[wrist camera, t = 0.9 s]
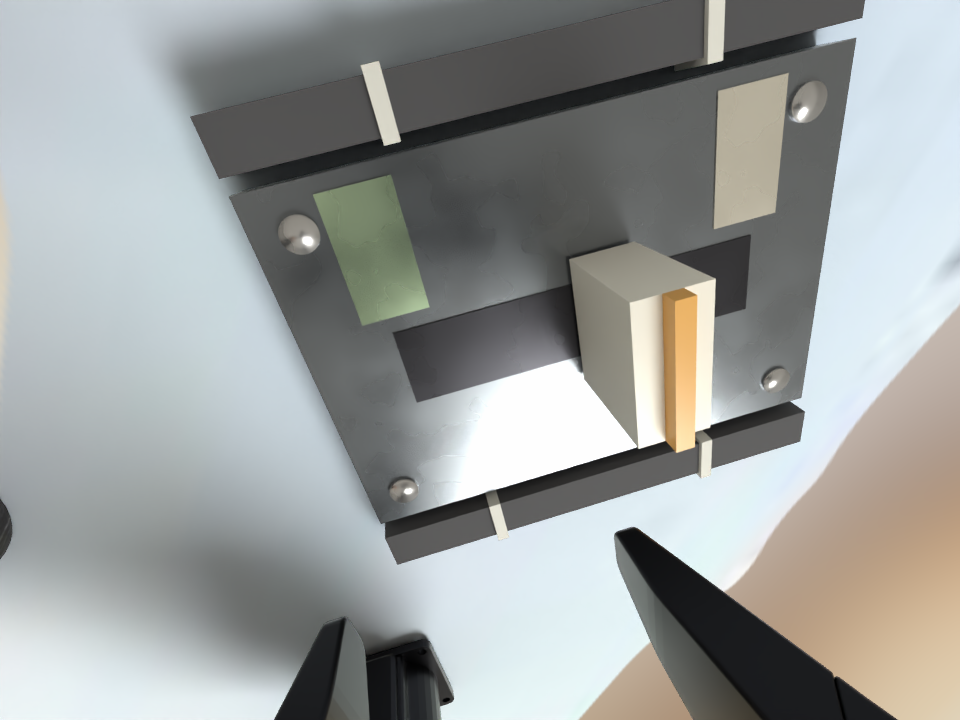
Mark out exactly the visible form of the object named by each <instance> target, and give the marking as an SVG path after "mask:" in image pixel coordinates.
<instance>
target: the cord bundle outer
mask: <svg viewBox="0 0 960 720" xmlns="http://www.w3.org/2000/svg"><path fill="white" fill-rule="evenodd" d="M864 3H865V0H670V1H666V2H662V3H658V4H654V5H650V6H645V7H641V8H637V9H633V10H629V11H625V12H621V13H617V14H612V15H608V16H604V17H600V18H596V19H592V20H588V21H583V22H579V23H575V24H571V25H567V26H563V27H559V28H554V29H550V30H546V31H542V32H538V33H534V34H530V35H526V36H521V37H517V38H513V39H509V40H505V41H501V42H497V43H492V44H488V45H484V46H480V47H476V48H472V49H468V50H464V51H459V52H455V53H451V54H447V55H443V56H439V57H435V58H430V59H426V60H422V61H418V62H414V63H410V64H406V65H402V66H397V67H393V68H389V69H385V70H381V67H380V63H379V61H376V62H372V63H368V64H364V65H361V68H362V71H363V75H360V76H356V77H352V78H348V79H344V80H340V81H335V82H331V83H327V84H323V85H319V86H315V87H311V88H306V89H302V90H298V91H294V92H290V93H286V94H282V95H278V96H273V97H269V98H265V99H261V100H257V101H253V102H249V103H244V104H240V105H236V106H232V107H228V108H224V109H220V110H216V111H211V112H207V113H203V114H199V115H195V116H191V119H192V122H193V124H194V126H195V128H196V130H197V132H198V134H199V137H200V139H201V141H202V143H203V145H204V147H205V149H206V152H207V154H208V156H209V158H210V160H211V162H212V164H213V167H214V169H215V171H216V173H217V175H218V177H219V179H222V178H225V177H229V176H233V175H237V174H241V173H245V172H249V171H253V170H257V169H261V168H265V167H269V166H273V165H277V164H281V163H285V162H289V161H293V160H297V159H301V158H305V157H309V156H313V155H317V154H321V153H325V152H329V151H333V150H337V149H341V148H345V147H349V146H353V145H357V144H361V143H365V142H369V141H373V140H377V139H381V138H382V140H383V144H384V146H386V145H390V144H394V143H398V142H401V140H400V136H399V134H401V133H405V132H409V131H413V130H417V129H421V128H425V127H429V126H433V125H437V124H441V123H445V122H449V121H453V120H457V119H461V118H465V117H469V116H473V115H477V114H481V113H485V112H489V111H493V110H497V109H501V108H505V107H509V106H513V105H517V104H521V103H525V102H529V101H533V100H537V99H541V98H545V97H549V96H553V95H557V94H561V93H565V92H569V91H573V90H577V89H581V88H585V87H589V86H593V85H597V84H601V83H605V82H608V81H612V80H616V79H620V78H624V77H628V76H632V75H636V74H640V73H644V72H648V71H652V70H656V69H660V68H664V67H668V66H672V65H674V68H675V71H678V70H683V69H688V68H693V67H698V66H703V65H708V64H712V63H716V62H720V61H723V53H724V52H728V51H732V50H736V49H740V48H744V47H748V46H752V45H756V44H760V43H764V42H768V41H772V40H776V39H780V38H784V37H788V36H792V35H796V34H800V33H804V32H808V31H812V30H816V29H820V28H824V27H828V26H832V25H836V24H840V23H844V22H848V21H852V20H856V19H860V18H862V16H863V9H864Z"/></svg>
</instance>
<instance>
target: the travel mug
mask: <svg viewBox="0 0 960 720" xmlns="http://www.w3.org/2000/svg"><path fill="white" fill-rule="evenodd" d="M11 537H12V523H11V519H10V516H9V514H8V511H7V509H6V507H5V506H4V504H3V503H2V501H1V500H0V559H1V557H2V556H3V555H4V553H5V552H6V550H7V548H8V546H9V544H10V541H11Z"/></svg>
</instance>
